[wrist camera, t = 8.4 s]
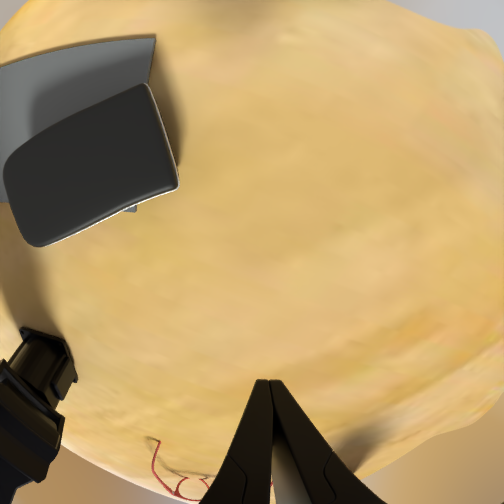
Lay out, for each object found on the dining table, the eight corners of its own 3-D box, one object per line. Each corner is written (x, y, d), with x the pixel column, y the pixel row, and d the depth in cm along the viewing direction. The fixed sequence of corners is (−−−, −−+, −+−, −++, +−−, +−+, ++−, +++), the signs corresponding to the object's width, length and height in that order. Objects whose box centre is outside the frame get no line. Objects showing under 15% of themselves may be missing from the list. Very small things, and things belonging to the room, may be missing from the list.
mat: (-11, 200, 17) (-14, 201, 17) (-5, 70, 12) (-8, 70, 12) (136, 210, 19) (134, 212, 18) (156, 39, 14) (154, 38, 14)
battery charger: (156, 89, 16) (22, 158, 15) (146, 75, 13) (-6, 161, 12) (186, 184, 19) (51, 241, 18) (183, 191, 15) (28, 258, 14)
